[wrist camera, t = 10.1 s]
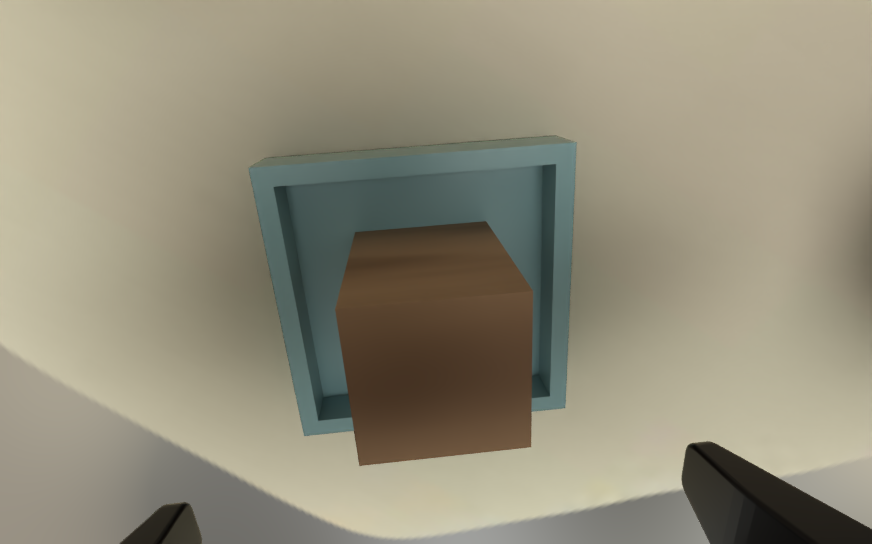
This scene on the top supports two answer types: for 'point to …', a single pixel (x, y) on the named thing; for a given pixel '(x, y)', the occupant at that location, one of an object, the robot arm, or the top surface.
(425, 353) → the walnut block
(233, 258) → the top surface
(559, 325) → the teal tray
